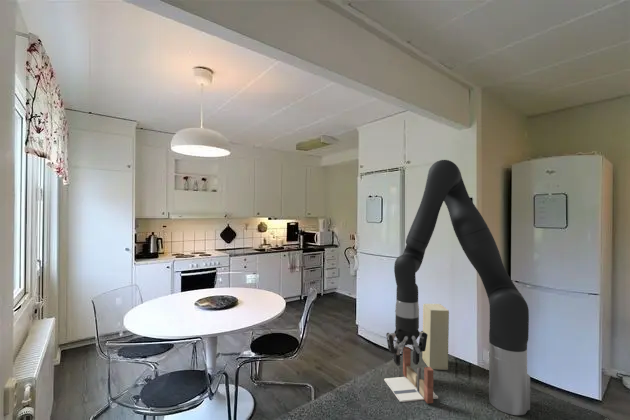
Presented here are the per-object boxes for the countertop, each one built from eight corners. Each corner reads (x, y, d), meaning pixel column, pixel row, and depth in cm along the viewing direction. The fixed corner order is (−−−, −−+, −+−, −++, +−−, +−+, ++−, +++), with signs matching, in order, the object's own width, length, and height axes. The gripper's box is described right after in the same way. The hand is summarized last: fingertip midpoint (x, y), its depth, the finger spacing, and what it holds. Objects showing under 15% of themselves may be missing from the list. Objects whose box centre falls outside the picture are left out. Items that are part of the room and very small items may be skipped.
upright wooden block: (450, 370, 106) (451, 310, 106) (429, 369, 106) (430, 309, 106) (441, 359, 114) (441, 303, 114) (422, 358, 114) (422, 303, 114)
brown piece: (420, 390, 93) (420, 358, 93) (433, 404, 86) (433, 370, 86) (415, 391, 93) (415, 359, 93) (427, 405, 86) (427, 370, 86)
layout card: (417, 376, 101) (417, 375, 101) (438, 398, 89) (438, 396, 89) (384, 379, 99) (384, 378, 99) (400, 402, 87) (400, 400, 87)
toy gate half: (419, 386, 94) (419, 357, 94) (414, 387, 94) (414, 358, 94) (407, 373, 101) (408, 346, 102) (402, 374, 101) (403, 347, 101)
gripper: (391, 318, 96) (391, 371, 96) (433, 316, 98) (432, 368, 98) (382, 310, 103) (381, 360, 103) (421, 309, 106) (420, 357, 105)
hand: (406, 364), depth 100 cm, fingers open, 5 cm apart
